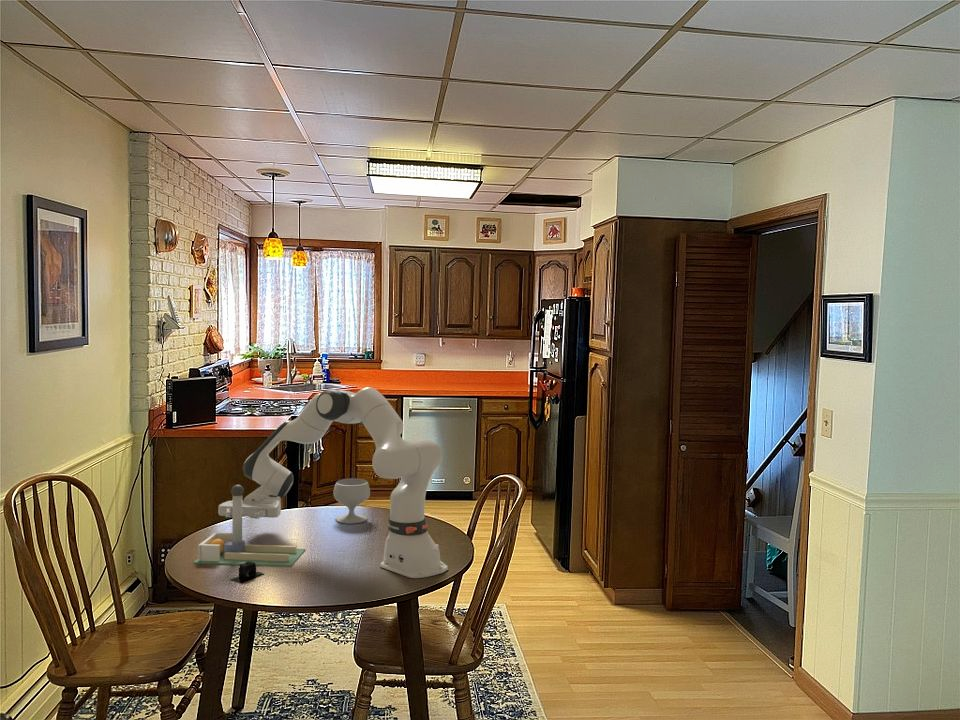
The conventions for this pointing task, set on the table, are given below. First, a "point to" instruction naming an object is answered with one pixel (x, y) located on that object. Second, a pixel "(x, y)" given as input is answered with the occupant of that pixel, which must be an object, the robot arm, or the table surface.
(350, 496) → the chalice
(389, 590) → the table surface
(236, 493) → the lever
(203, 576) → the table surface
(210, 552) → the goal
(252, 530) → the table surface
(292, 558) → the pitch
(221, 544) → the ball
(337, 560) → the table surface
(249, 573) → the black boxy piece
